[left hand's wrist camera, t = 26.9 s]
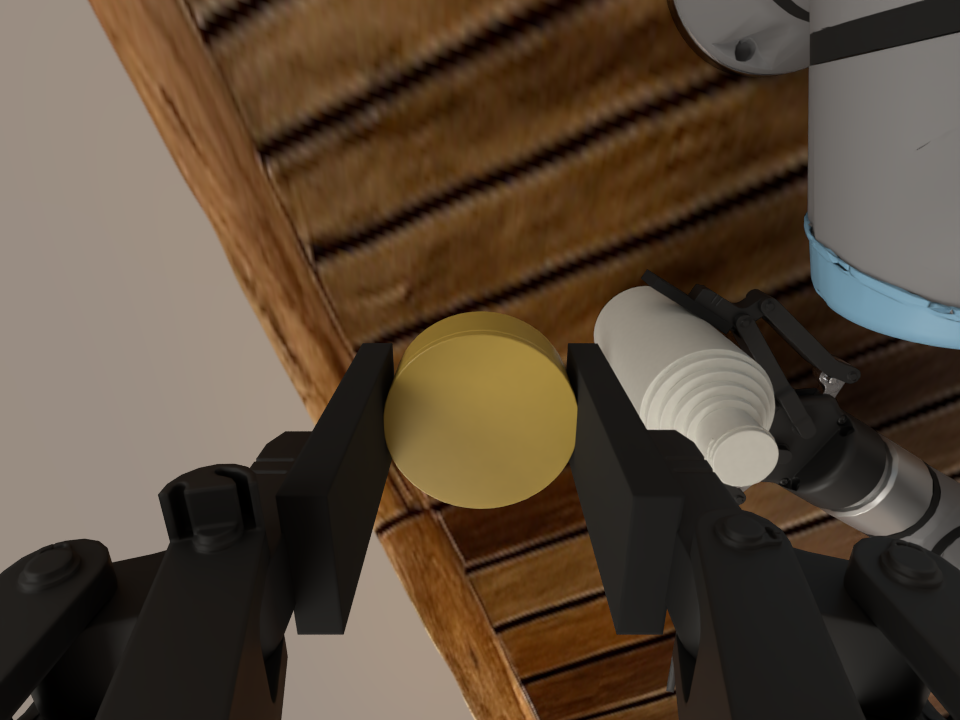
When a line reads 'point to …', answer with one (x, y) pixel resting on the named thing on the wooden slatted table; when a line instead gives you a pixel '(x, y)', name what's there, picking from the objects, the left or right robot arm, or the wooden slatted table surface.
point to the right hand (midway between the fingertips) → (612, 329)
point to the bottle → (691, 382)
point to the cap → (480, 411)
